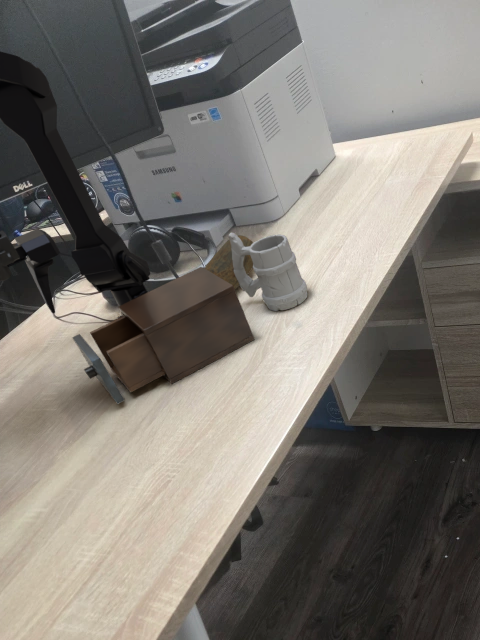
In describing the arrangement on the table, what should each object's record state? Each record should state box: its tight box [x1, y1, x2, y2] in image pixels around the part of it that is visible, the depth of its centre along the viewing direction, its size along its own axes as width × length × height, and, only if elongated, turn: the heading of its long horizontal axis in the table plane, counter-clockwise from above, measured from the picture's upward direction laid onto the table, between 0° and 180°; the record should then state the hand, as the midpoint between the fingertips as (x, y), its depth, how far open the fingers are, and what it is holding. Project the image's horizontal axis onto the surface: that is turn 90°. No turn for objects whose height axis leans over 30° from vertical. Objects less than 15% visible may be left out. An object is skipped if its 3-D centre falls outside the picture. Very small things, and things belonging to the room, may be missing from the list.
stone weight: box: [203, 235, 254, 291], centre depth 117 cm, size 15×7×7 cm, turn 168°
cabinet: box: [117, 266, 255, 384], centre depth 101 cm, size 15×13×9 cm
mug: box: [228, 232, 308, 312], centre depth 106 cm, size 8×12×12 cm, turn 73°
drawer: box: [72, 315, 165, 405], centre depth 98 cm, size 15×11×7 cm
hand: (22, 327), depth 92 cm, fingers open, 9 cm apart
